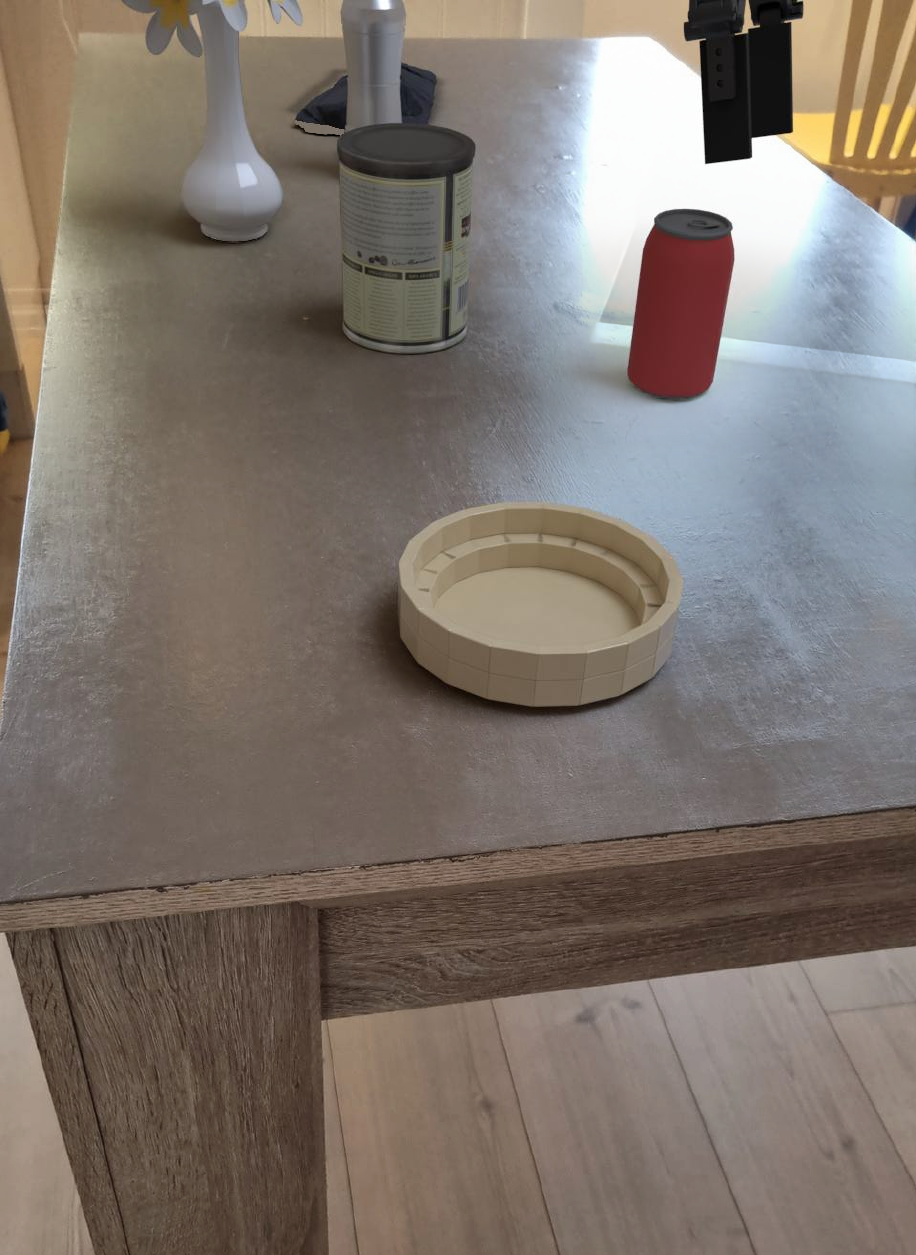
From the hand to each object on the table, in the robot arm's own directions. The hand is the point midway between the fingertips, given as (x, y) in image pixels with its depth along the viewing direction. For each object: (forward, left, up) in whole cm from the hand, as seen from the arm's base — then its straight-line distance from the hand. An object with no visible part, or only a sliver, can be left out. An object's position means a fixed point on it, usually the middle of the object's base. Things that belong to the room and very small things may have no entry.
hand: (751, 148), depth 84 cm
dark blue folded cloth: (+44, -70, -19) cm, 85 cm away
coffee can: (+25, -9, -19) cm, 32 cm away
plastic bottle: (+38, -47, -19) cm, 63 cm away
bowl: (+7, +31, -18) cm, 37 cm away
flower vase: (+46, -26, -19) cm, 55 cm away
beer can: (+3, -5, -19) cm, 19 cm away
